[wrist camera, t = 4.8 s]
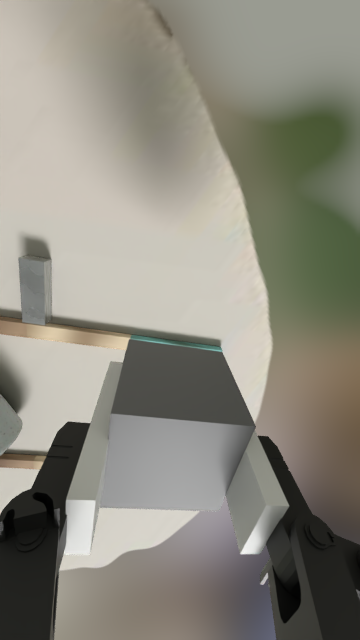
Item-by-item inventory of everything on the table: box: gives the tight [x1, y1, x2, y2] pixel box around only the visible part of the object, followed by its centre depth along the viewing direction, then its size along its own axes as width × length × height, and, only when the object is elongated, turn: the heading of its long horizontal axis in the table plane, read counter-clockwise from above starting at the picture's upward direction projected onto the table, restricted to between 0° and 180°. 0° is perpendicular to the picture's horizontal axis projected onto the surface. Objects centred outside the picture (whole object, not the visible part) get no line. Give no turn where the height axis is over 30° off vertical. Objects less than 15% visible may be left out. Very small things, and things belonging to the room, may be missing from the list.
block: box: [100, 339, 256, 511], centre depth 11 cm, size 5×5×5 cm
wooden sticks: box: [0, 316, 222, 469], centre depth 28 cm, size 30×21×1 cm
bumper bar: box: [19, 255, 52, 325], centre depth 22 cm, size 2×6×2 cm, turn 168°
